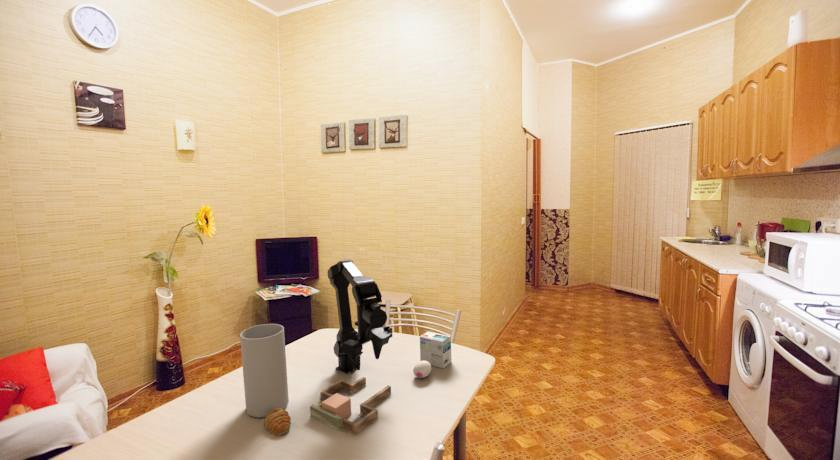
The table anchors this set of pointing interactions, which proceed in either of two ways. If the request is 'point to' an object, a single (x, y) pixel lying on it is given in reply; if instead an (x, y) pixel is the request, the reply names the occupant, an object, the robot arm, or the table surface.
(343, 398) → the terracotta block
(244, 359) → the cylinder vase
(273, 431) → the pastry
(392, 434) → the table surface
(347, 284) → the robot arm
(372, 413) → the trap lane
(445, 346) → the light bulb box
